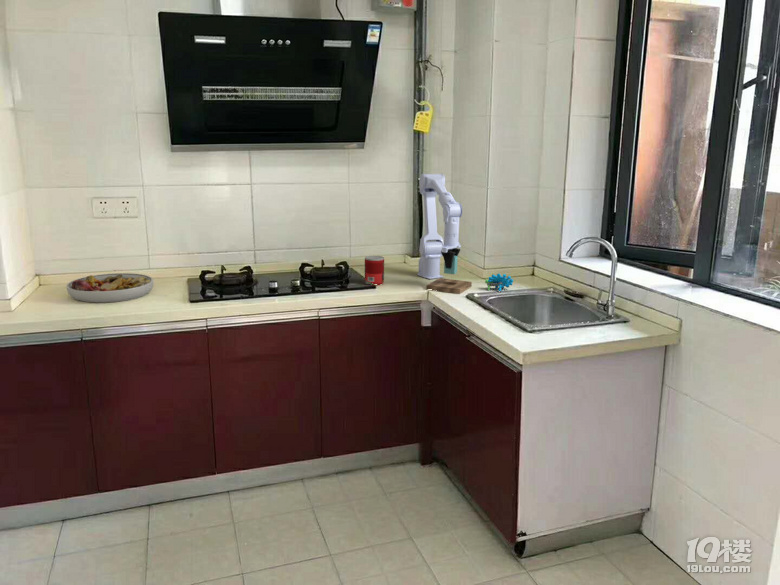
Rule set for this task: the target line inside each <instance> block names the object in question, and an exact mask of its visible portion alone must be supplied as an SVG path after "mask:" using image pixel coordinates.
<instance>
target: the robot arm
mask: <svg viewBox="0 0 780 585" xmlns="http://www.w3.org/2000/svg"><path fill="white" fill-rule="evenodd" d="M418 180H419V181H418V183H419V194H421V195H422V197H423V206H424V207H423V208H424V221H425V222H424V224H425V234H424V235H423V236H422V237H421V238H420V239H419V240H420V241H419V254H420V255H421V256H420V257H419V259H418V273H416V275H417V276H419V277H422V278H425V279H428V280H432V279H439V278H444V275H441V274H440V273H441V271H440V270H441V258H443V260H444V262H445V266H446V268H450V269H451V267H452V262H453V258H454V256H458V257H459V254H460V252H461V247H462V244H461V242H459V237H460V236H459V235H460V234H459V233H460V232H459V231H460V218H461V217H462V216H463V206H462V204H461V203H460V202H457V201H456V200H455V198H454V196H453V195H452V193H451V192H450V191H447V188H446V176H445V174H444V173H421V174H420V176H419V179H418ZM437 196H438V202H439V204H440V206H441V208H442V216H443V222H444V227H443V228H444V234H443V237H442V236H441V235H440V234H439V233H438V224H437V223H438V220H437V207H436V206H437V205H436V197H437Z"/></svg>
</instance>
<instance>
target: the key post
mask: <svg viewBox="0 0 780 585" xmlns="http://www.w3.org/2000/svg"><path fill="white" fill-rule="evenodd" d="M458 257H459V255H458V256H454V258H453V262H452V267H451V269H450V268H446V266H445V261H444V265H443V266H444V268H443V274H448V275H456V274H458V259H459V258H458Z"/></svg>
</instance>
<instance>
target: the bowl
mask: <svg viewBox="0 0 780 585" xmlns="http://www.w3.org/2000/svg"><path fill="white" fill-rule="evenodd" d="M153 287H154V278H153V277H151V276H150V275H146V274H142V273H132V272H131V273H130V272H127V273H126V272H123V273H122V272H118V273H103V274H101V273H100V274H95V275H88V276H83V277H79V278H76V279H74V280H71V281H69V282H68V283H67V284H66V291H67V293H68V296H70V297H71V298H73V299H74V300H77V301H80V302H84V303H96V304H97V303H98V304H99V303H100V304H102V303H104V304H106V303H117V302H124V301H130V300H134V299H138V298H140V297H141V298H142V297H143V296H145V295H147V294H148V293H150V292H151V291H152V289H153Z"/></svg>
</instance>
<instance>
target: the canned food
mask: <svg viewBox="0 0 780 585" xmlns="http://www.w3.org/2000/svg"><path fill="white" fill-rule="evenodd" d="M365 280H366V281H368V282H371V283H373V284H377V285H376V286H381V285H380V284H382V285H384V283H385V282H384V281H385V256H381V255H367V256H365V257H364V281H365Z"/></svg>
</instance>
